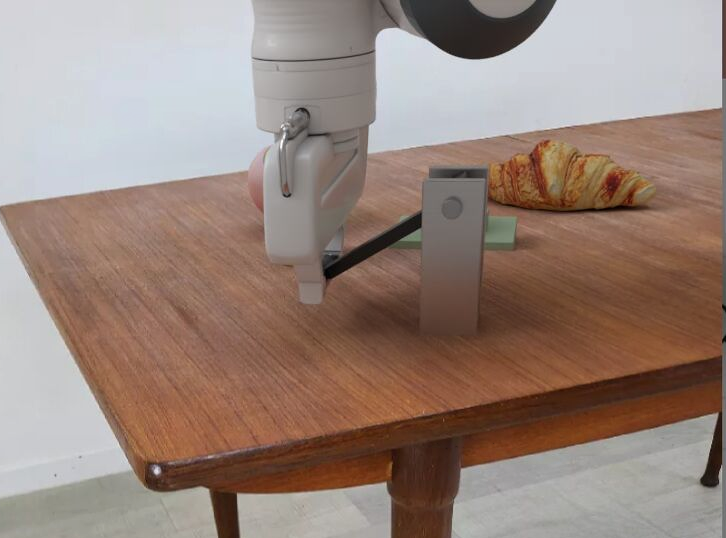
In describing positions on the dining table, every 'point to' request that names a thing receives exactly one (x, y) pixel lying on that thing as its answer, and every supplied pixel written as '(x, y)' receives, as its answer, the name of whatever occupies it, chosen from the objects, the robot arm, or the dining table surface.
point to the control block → (496, 235)
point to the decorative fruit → (257, 179)
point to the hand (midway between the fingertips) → (322, 286)
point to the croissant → (566, 180)
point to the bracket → (452, 249)
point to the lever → (373, 245)
